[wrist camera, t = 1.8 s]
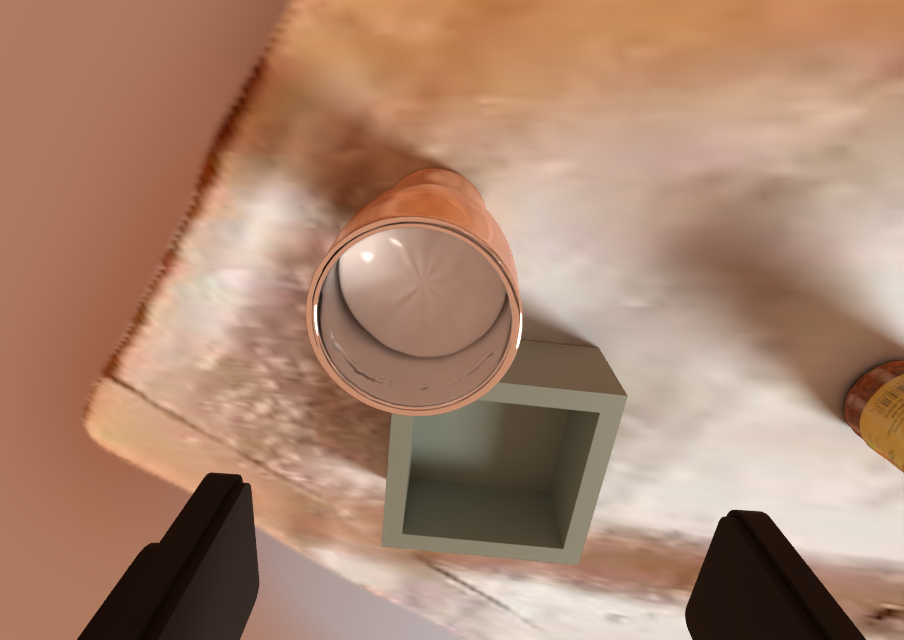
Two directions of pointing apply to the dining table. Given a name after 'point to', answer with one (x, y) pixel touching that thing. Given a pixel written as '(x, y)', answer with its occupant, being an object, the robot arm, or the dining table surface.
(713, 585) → the robot arm
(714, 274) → the dining table surface
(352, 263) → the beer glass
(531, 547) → the box
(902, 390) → the sauce bottle
